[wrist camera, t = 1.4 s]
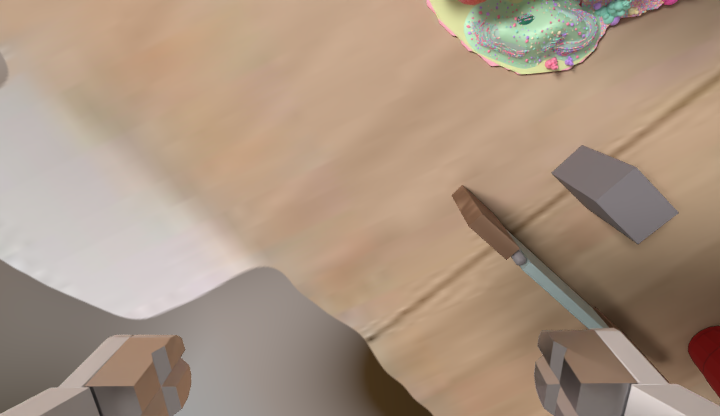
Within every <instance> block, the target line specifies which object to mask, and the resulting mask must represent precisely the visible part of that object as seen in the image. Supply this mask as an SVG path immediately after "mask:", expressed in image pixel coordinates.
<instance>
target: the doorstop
mask: <svg viewBox="0 0 720 416" xmlns="http://www.w3.org/2000/svg"><path fill="white" fill-rule="evenodd" d="M552 174H553V175H554V176H555V177H556V178H557V179H558V180H559V181H560V182H561V183H562V184H563V185H564V186H565V187H566V188H567V189H568V190H569V191H570V192H571V193H572V194H573V195H574V196H575V197H576V198H577V199H578V200H579V201H580V202H581V203H582V204H583V205H584V206H585V207H586V208H587V209H589V210H590V211H591V212H593V213H594V214H596V215H597V216H599V217H600V218H601V219H603V220H604V221H606V222H607V223H609V224H610V225H611V226H613V227H614V228H616V229H617V230H619V231H620V232H621V233H623V234H624V235H626V236H627V237H629V238H630V239H631V240H633V241H634V242H636V243H637V244H639V243H640V242H642V241H643V240H644V239H646V238H647V237H648V236H649V235H651V234H652V233H653V232H655V231H656V230H657V229H659V228H660V227H661V226H662V225H664V224H665V223H666V222H668V221H669V220H670V219H672V218H673V217H674V216H675V215H677V214H678V211H677V210H676V209H675V208H674V207H673V206H672V205H671V204H670V203H669V202H668V201H667V200H666V199H665V198H664V196H663V195H662V194H661V193H660V192H659V191H658V190H657V189H656V188H655V187H654V186H653V185H652V184H651V183H650V182H649V180H648V179H647V178H646V177H645V176H644V175H643V174H642V173H641V172H640V171H639V170H638V169H637V168H636V167H634V166H632V165H629V164H627V163H625V162H622V161H620V160H617V159H615V158H612V157H610V156H607V155H605V154H603V153H600V152H598V151H595V150H593V149H590V148H588V147H585V146H583V145H582V146H580V147H579V148H578V149H577V150H576V151H575V152H574V153H573V154H572V155H570V156H569V157H568V158H567V159H566V160H565V161H564V162H563V163H562V164H560V165H559V166H558V167H557V168H556V169H555V170H554V171H553V172H552Z"/></svg>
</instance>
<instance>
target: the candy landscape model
mask: <svg viewBox="0 0 720 416" xmlns="http://www.w3.org/2000/svg"><path fill="white" fill-rule="evenodd" d="M677 1H678V0H427V6H428V7H429V8H430V9H431V10H432V11H433V12H434V13H435V14H436V16H437V18H438V20H439V24H440V25H442V26H443V27H444V28H445V30H447V31H448V32H449V33H450V34H451V35H452V36H457V37H458V38H459V39H460V40H461V44H462V45H463V46H464V47H465V48H466V49H467V50H468V51H473V52H475V53H477V54H478V55H479V56H480V57H481V58H482V59H483V60H484V61H486V62H487V63H488V65H490V66H499V65H500V66H502V67H504V68H505V69H507V70H512V71H514V72H515V73H516V74H533V73H542V72H552V71H562V70H568V69H571V68H572V67H573V65H575V64H577V63H581V62H583V61H584V60H585V58H586V57H587V56H589V55H590V54H591V52H592V51H594V50H595V48H596V47H597V44H598V41H599V39H600V38H601V37H602V36H603V35H604V34H605V31H606V29H607V27H608V26H609V25H612V26H613V25H616V24H617V23H618V22H619V21H620V18H624V17H634V16H641V14H642V13H646V12H647V11H646V10H651V9H652V10H653V9H658V8H659V7H660V6H661V5H662V4H664V5H672V4H674V3H676V2H677Z"/></svg>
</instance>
